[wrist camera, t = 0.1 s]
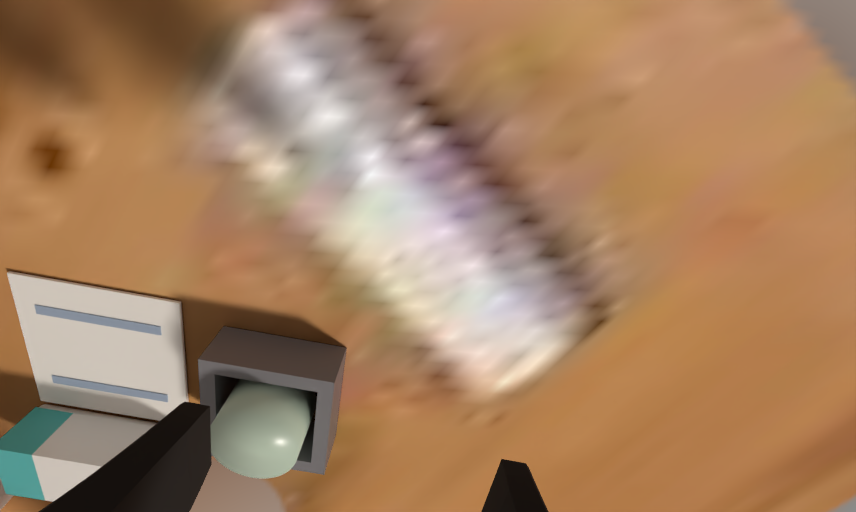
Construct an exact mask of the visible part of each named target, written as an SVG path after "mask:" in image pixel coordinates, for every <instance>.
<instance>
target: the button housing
mask: <svg viewBox="0 0 856 512" xmlns="http://www.w3.org/2000/svg"><path fill="white" fill-rule="evenodd" d="M345 356H346V348H345V347H340V346H334V345H328V344H323V343H317V342H311V341H306V340H300V339H294V338H289V337H283V336H277V335H271V334H266V333H260V332H254V331H249V330H243V329H237V328H232V327H226V326H224V327H223V328H222V329H221V330H220V332H219V333H218V334H217V335H216V337H215V338H214V339H213V341H212V342H211V343H210V344H209V346H208V347H207V348H206V350H205V351H204V352H203V353H202V355H201V356H200V357H199V358H198V370H199V387H200V404H201V405H207V406H210V426H211V424H212V422H213V421H214V419H215V418H216V416H217V414H218V413H219V411H220V410H221V408H222V406H223V405H224V403H225V402H226V400H227V398H228V397H229V395H230V393H231V392H232V390H233V389H234V387H235V385H236V384H237V382H238V381H239V379H244V380H250V381H256V382H262V383H268V384H273V385H279V386H285V387H291V388H297V389H302V390H308V391H314V392H318V393H317V404H316V415H315V422H312V421H311V423H310V425H309V428H308V431H307V434H306V436H305V439H304V442H303V444H302V447H301V450H300V453H299V455H298V458H297V461H296V463H295V465H294V466H293V467H292V468H291V469H293V470H299V471H305V472H311V473H317V474H323V475H324V473H325V470H326V467H327V463H328V460H329V456H330V453H331V450H332V446H333V443H334V439H335V436H336V430H337V421H338V413H339V405H340V397H341V389H342V381H343V373H344V364H345ZM211 456H213V455H212V453H211Z"/></svg>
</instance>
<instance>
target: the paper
mask: <svg viewBox="0 0 856 512" xmlns="http://www.w3.org/2000/svg"><path fill="white" fill-rule="evenodd" d="M7 275H8V279H9V283H10V286H11V290H12V294H13V298H14V302H15V305H16V309H17V313H18V317H19V320H20V324H21V328H22V332H23V336H24V339H25V343H26V347H27V351H28V355H29V358H30V362H31V366H32V370H33V373H34V377H35V381H36V385H37V389H38V392H39V396H40V400H41V401H45V402H51V403H57V404H63V405H69V406H75V407H81V408H87V409H93V410H99V411H105V412H110V413H116V414H122V415H128V416H134V417H140V418H146V419H152V420H158V421H160V420H162V419H163V418H164V417H165V416H166V415H168V414H169V413H170V412H171V411H173V410H174V409H175V408H176V407H177V406H179V405H180V404H181V403H183V402H189V401H188V387H187V374H186V360H185V346H184V333H183V319H182V305H181V301H176V300H170V299H164V298H159V297H153V296H147V295H142V294H136V293H130V292H125V291H119V290H113V289H108V288H102V287H96V286H91V285H85V284H79V283H74V282H68V281H63V280H57V279H51V278H46V277H40V276H34V275H29V274H23V273H17V272H12V271H9V272H7Z"/></svg>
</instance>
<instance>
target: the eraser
mask: <svg viewBox="0 0 856 512" xmlns="http://www.w3.org/2000/svg"><path fill="white" fill-rule="evenodd" d="M155 424H157V423H156V422H150V421H144V420H138V419H132V418H126V417H120V416H114V415H108V414H102V413H97V412H91V411H85V410H79V409H73V408H67V407H61V406H55V405H49V404H43V405H41V406H40V407H35V408H34V409H33V410H32V411H31V412H29V413H28V414H27V415H26V416H25V417H24V418H23V419H22V420H21V421H19V422H18V423H17V424H16V425H15V426H14V427H13V428H12V429H10V430H9V431H8V432H7V433H6V434H5V435H4V436H3V437H1V438H0V479H1V482H2V484H3V487H4V490H5V493H6V494H9V495H15V496H21V497H27V498H33V499H39V500H46V501H52V502H53V501H55V500H56V499H58V498H59V497H61V496H62V495H63V494H65V493H66V492H68V491H69V490H70V489H72V488H73V487H75V486H76V485H77V484H79V483H80V482H82V481H83V480H84V479H86V478H87V477H89V476H90V475H91V474H93V473H94V472H95V471H97V470H98V469H99V468H101V467H102V466H103V465H104V464H106V463H107V462H108V461H110V460H111V459H112V458H114V457H115V456H116V455H118V454H119V453H120V452H121V451H123V450H124V449H125V448H127V447H128V446H129V445H130V444H132V443H133V442H134V441H135V440H137V439H138V438H139V437H141V436H142V435H143V434H144V433H146V432H147V431H148V430H149V429H150V428H152V427H153V426H154V425H155Z"/></svg>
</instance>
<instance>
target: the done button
mask: <svg viewBox="0 0 856 512" xmlns="http://www.w3.org/2000/svg"><path fill="white" fill-rule="evenodd" d="M315 409H316V396H315V393H314V391H308V390H302V389H297V388H291V387H285V386H279V385H273V384H268V383H262V382H256V381H250V380H244V379H239V381H238V382H237V384H236V385H235V387H234V389H233V390H232V392H231V393H230V395H229V397H228V398H227V400H226V402H225V403H224V405H223V406H222V408H221V410H220V411H219V413H218V414H217V416H216V418H215V419H214V421H213V422H212V424H211V453H212V455H213V456H214V457H215V458H216V460H217V461H218V462H220V463H221V464H222V465H223V466H225V467H226V468H228V469H229V470H231V471H233V472H235V473H238V474H240V475H243V476H247V477H252V478H273V477H277V476H280V475H282V474H284V473H286V472H288V471H289V470H290V469H291V468H292V467H293V466H294V465H295V463H296V461H297V458H298V455H299V453H300V450H301V447H302V444H303V442H304V439H305V436H306V434H307V431H308V428H309V425H310V423H311V420H312V417H313V415H314V412H315Z"/></svg>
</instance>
